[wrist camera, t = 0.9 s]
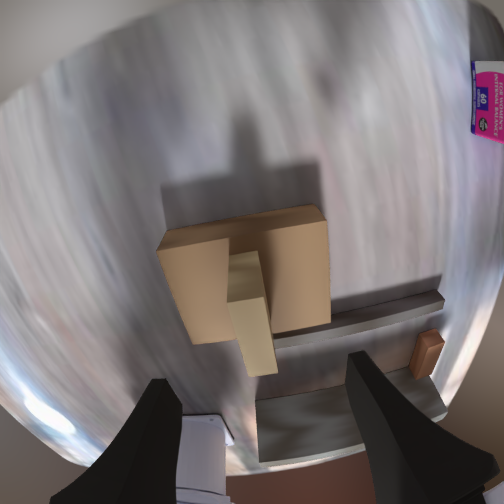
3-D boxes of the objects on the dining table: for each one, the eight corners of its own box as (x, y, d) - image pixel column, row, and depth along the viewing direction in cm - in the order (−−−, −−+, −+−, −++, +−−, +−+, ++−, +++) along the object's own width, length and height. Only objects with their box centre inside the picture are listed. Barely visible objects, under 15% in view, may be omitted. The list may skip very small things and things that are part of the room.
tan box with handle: (197, 315, 21) (186, 393, 14) (167, 229, 17) (133, 296, 11) (320, 295, 20) (348, 369, 14) (313, 202, 17) (354, 258, 11)
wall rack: (257, 407, 26) (261, 467, 20) (234, 330, 21) (235, 410, 15) (420, 369, 26) (445, 417, 20) (447, 286, 20) (491, 338, 14)
